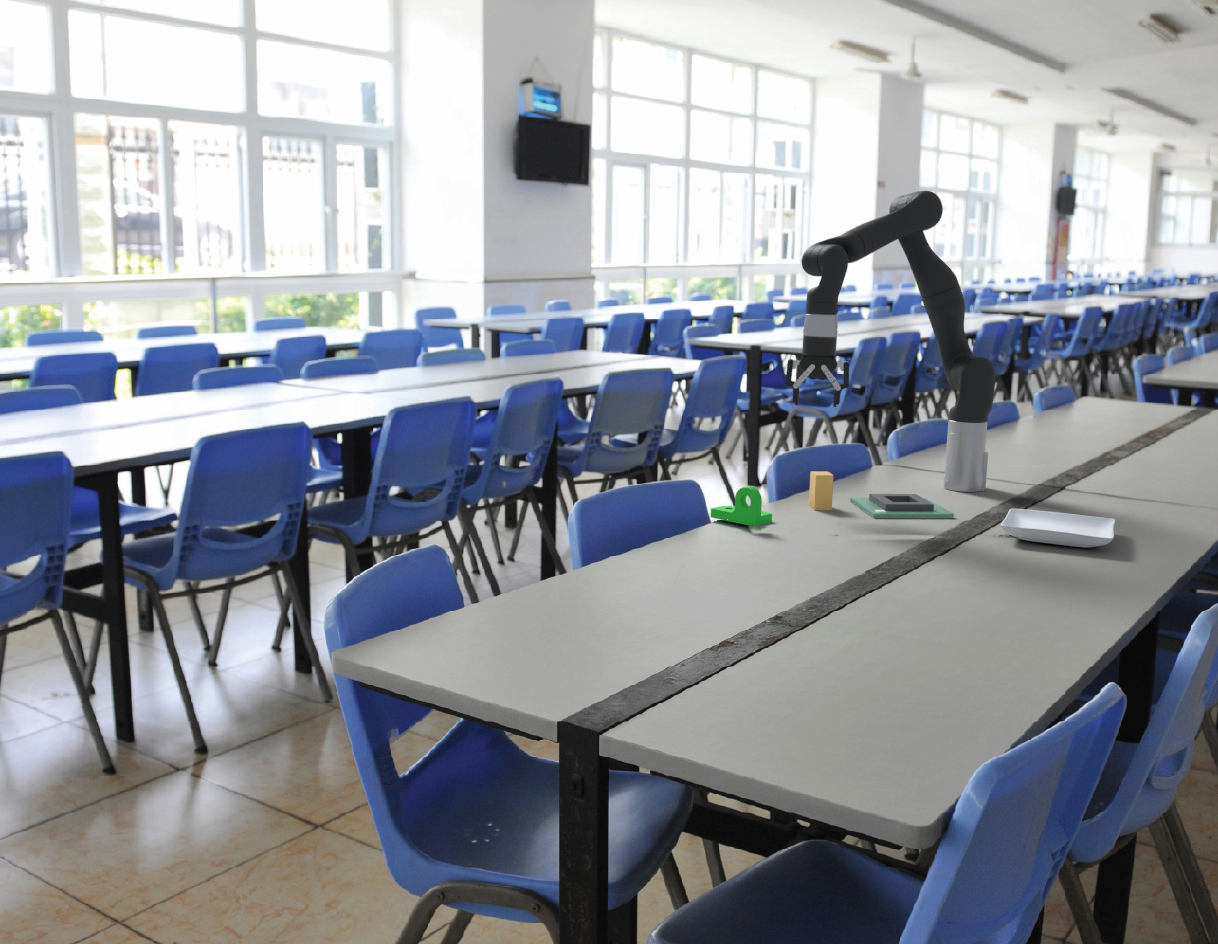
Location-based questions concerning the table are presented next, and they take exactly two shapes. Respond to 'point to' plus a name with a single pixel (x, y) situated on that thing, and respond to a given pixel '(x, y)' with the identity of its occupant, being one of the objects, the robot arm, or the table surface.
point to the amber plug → (821, 490)
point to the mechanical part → (744, 509)
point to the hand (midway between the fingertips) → (815, 405)
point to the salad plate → (1059, 528)
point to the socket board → (900, 514)
